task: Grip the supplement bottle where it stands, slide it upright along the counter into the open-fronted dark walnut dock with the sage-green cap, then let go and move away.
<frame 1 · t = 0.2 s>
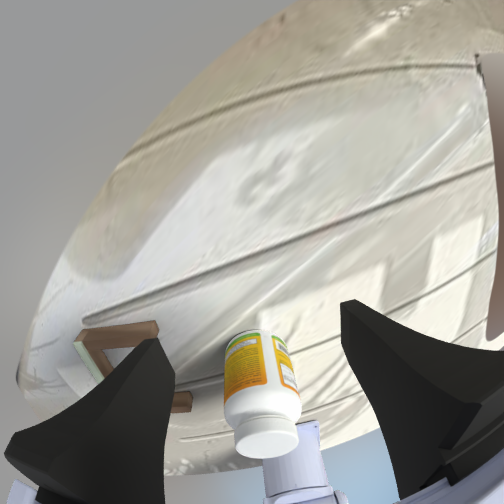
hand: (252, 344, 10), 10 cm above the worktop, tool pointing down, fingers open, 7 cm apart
dock: (142, 366, 23), on the worktop
supplement bottle: (255, 350, 23), on the worktop
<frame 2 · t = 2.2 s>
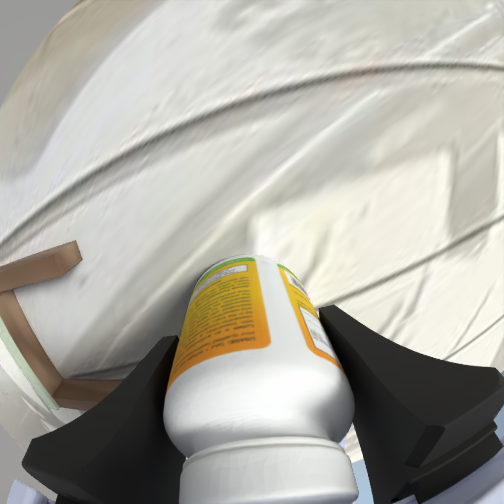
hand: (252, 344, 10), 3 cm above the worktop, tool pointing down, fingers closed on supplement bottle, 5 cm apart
dock: (67, 331, 13), on the worktop
supplement bottle: (248, 303, 13), on the worktop, touching gripper
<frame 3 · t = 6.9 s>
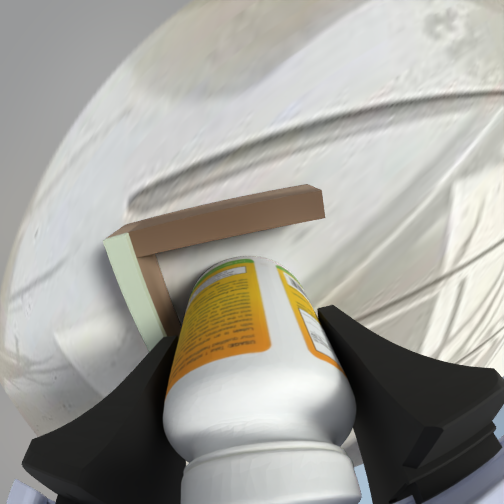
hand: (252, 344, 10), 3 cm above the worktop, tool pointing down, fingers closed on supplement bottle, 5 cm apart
dock: (248, 305, 13), on the worktop
supplement bottle: (246, 305, 13), on the worktop, touching gripper
when the fingers open (3 cm above the worktop, at t = 7.0 s): supplement bottle stays where it is, on the worktop.
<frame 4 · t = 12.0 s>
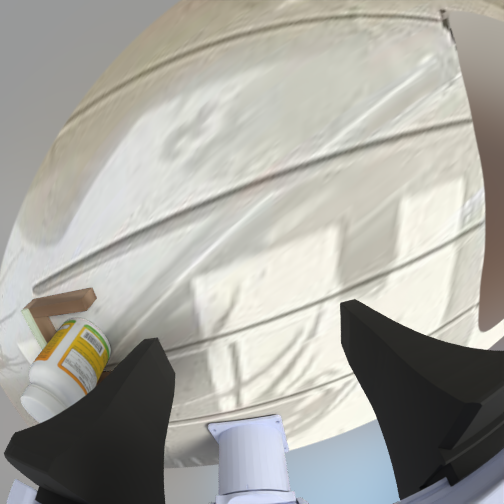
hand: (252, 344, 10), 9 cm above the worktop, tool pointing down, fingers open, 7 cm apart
dock: (86, 340, 21), on the worktop
supplement bottle: (87, 338, 21), on the worktop
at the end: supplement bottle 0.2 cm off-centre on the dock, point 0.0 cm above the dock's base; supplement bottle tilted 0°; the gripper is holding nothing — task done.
